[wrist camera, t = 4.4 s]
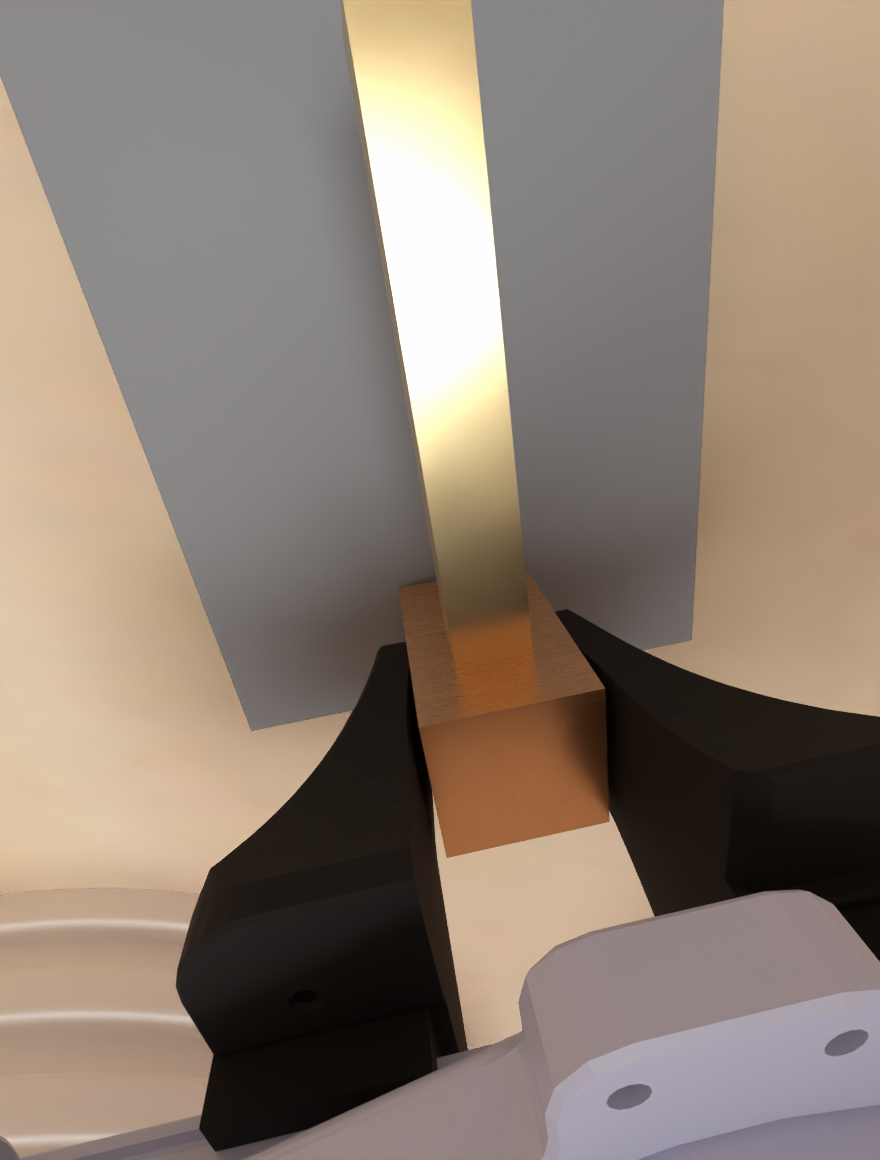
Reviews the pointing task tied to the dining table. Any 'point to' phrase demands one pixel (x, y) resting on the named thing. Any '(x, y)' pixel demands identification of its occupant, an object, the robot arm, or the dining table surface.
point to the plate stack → (94, 1016)
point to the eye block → (383, 305)
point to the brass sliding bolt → (466, 452)
